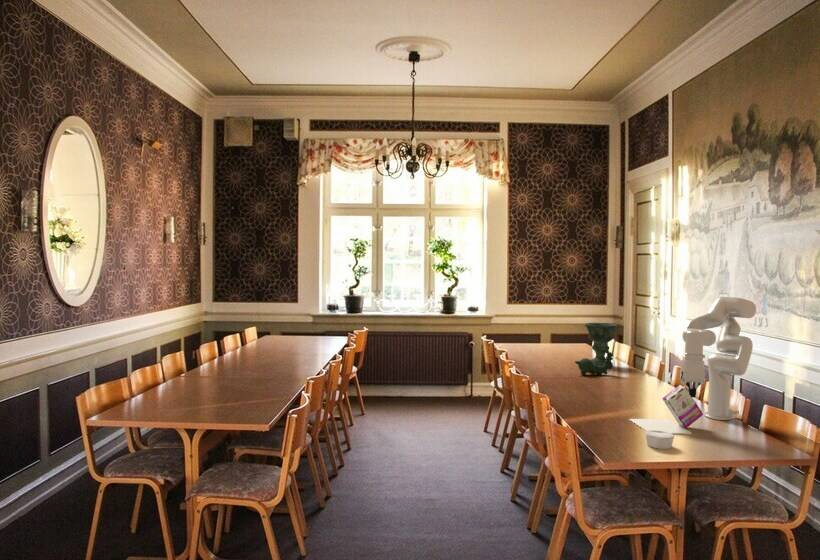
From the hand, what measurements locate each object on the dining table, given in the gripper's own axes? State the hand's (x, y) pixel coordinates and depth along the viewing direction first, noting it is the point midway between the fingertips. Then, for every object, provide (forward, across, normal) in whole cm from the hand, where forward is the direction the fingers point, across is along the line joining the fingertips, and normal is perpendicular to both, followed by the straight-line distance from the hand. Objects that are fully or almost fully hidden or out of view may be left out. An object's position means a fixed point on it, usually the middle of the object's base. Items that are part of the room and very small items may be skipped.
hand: (692, 396), depth 296 cm
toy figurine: (+14, +2, -126) cm, 127 cm away
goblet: (+13, -15, -161) cm, 162 cm away
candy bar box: (+11, 0, 0) cm, 11 cm away
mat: (+14, +15, 0) cm, 21 cm away
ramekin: (+15, +28, +29) cm, 43 cm away
